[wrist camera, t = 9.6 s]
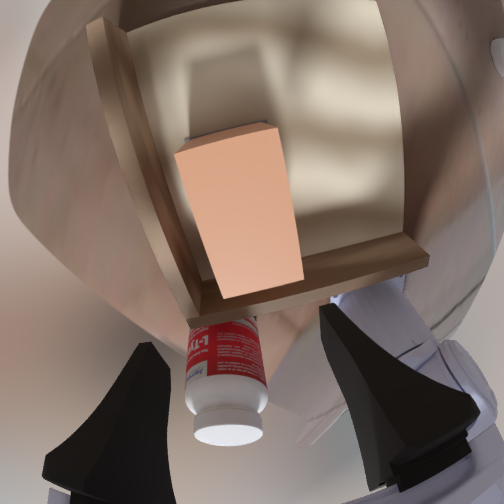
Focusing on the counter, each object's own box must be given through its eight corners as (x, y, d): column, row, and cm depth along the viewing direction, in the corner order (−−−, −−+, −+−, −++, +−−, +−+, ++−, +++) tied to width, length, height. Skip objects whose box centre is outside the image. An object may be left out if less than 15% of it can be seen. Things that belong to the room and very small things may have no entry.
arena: (397, 237, 22) (427, 266, 17) (195, 287, 22) (190, 329, 18) (370, 3, 11) (406, -14, 7) (117, 41, 12) (85, 25, 8)
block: (189, 140, 15) (173, 154, 11) (260, 122, 15) (277, 127, 10) (222, 249, 19) (223, 299, 15) (284, 234, 19) (304, 279, 15)
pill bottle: (199, 293, 22) (193, 413, 13) (267, 309, 24) (291, 421, 14) (183, 339, 25) (176, 444, 15) (242, 352, 27) (253, 451, 17)
